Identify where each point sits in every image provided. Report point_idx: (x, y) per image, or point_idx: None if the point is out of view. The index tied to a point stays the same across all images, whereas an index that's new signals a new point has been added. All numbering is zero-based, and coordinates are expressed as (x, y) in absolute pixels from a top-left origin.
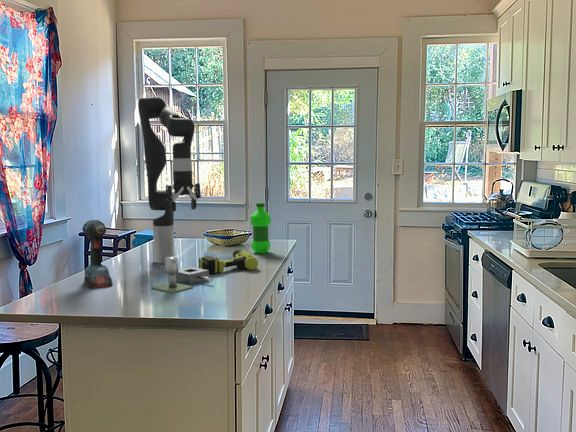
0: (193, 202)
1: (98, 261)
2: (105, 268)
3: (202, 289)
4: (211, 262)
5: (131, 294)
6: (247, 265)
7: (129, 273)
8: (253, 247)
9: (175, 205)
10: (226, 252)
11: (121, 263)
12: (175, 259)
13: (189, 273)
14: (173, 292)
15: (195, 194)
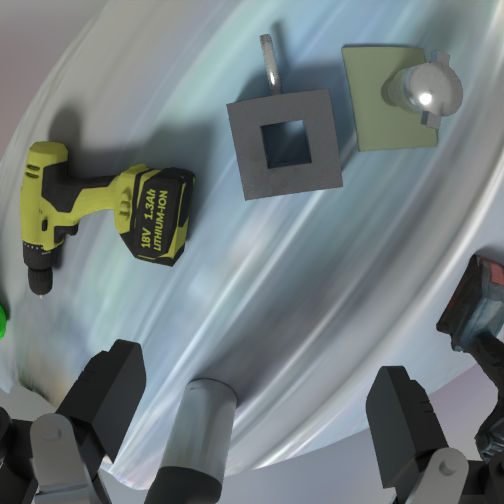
0: (105, 404)
1: (491, 337)
2: (480, 312)
3: (326, 16)
4: (166, 175)
5: (493, 135)
6: (63, 147)
7: (357, 352)
8: (1, 321)
9: (408, 412)
10: (53, 366)
11: (298, 433)
12: (439, 51)
13: (319, 103)
14: (417, 48)
15: (30, 489)
